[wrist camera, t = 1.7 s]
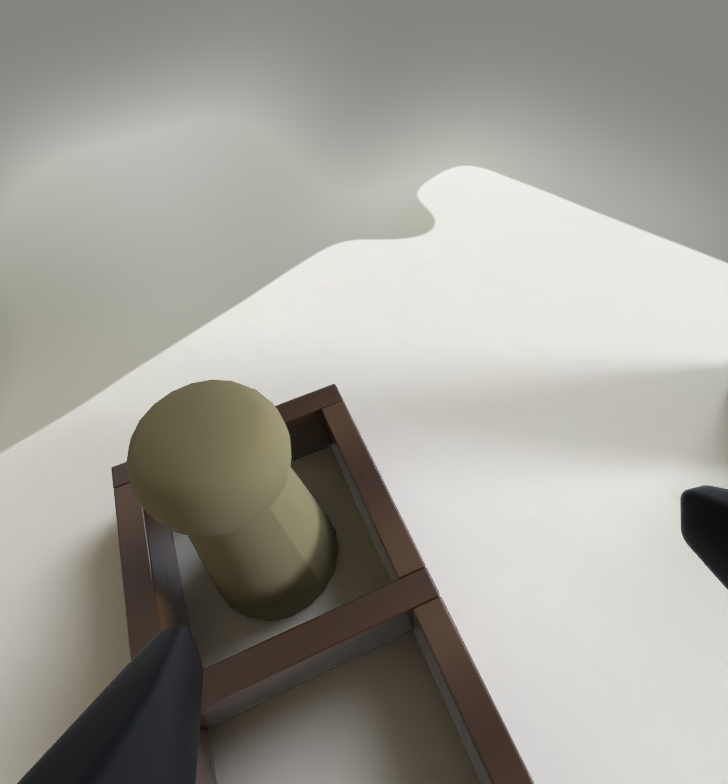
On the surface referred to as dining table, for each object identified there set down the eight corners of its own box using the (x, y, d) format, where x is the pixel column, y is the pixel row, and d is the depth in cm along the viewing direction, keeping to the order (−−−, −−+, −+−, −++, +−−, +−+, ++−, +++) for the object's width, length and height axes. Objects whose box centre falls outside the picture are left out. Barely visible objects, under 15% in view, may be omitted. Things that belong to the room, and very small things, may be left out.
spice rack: (593, 940, 15) (632, 978, 12) (238, 1172, 13) (191, 1278, 10) (343, 421, 28) (334, 383, 25) (143, 499, 26) (110, 467, 23)
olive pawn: (192, 542, 24) (68, 415, 16) (295, 473, 26) (236, 325, 17) (250, 651, 21) (133, 567, 12) (363, 563, 23) (330, 437, 14)
